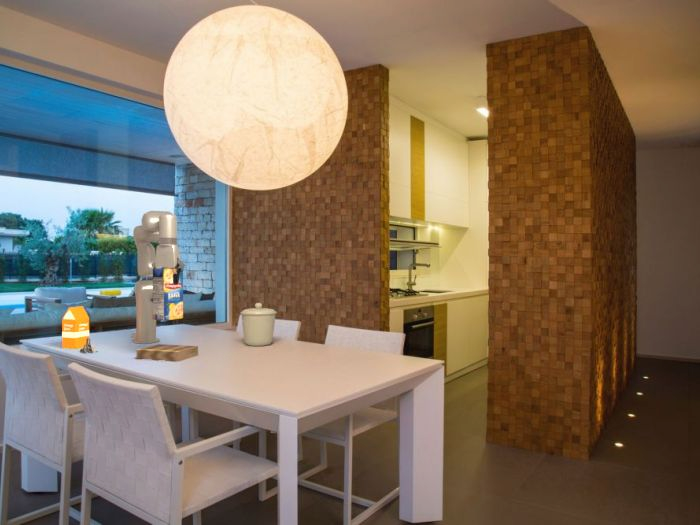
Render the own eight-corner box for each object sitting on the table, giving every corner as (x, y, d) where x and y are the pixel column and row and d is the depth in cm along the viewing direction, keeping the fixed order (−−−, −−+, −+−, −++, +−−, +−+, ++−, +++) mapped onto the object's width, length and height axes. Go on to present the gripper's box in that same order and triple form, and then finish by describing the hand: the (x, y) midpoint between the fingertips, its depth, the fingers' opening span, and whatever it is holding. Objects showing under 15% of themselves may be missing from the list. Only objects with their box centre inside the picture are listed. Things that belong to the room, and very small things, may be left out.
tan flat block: (136, 359, 233) (136, 349, 233) (159, 353, 249) (159, 343, 249) (177, 361, 228) (177, 351, 228) (198, 355, 243) (198, 345, 243)
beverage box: (152, 319, 235) (152, 268, 235) (172, 317, 245) (172, 268, 244) (163, 320, 232) (163, 268, 232) (183, 318, 241) (183, 268, 241)
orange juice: (61, 349, 257) (61, 307, 257) (76, 347, 265) (76, 305, 265) (75, 350, 254) (75, 307, 254) (89, 347, 263) (89, 306, 263)
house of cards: (67, 356, 243) (67, 338, 243) (82, 352, 251) (82, 336, 251) (84, 357, 240) (84, 339, 240) (98, 353, 249) (98, 336, 249)
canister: (280, 342, 282) (280, 301, 281) (271, 348, 264) (271, 304, 263) (246, 341, 283) (246, 301, 283) (235, 347, 265) (235, 304, 265)
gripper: (145, 242, 237) (145, 283, 237) (180, 242, 232) (180, 283, 232) (156, 242, 244) (156, 282, 244) (190, 242, 239) (190, 283, 239)
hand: (168, 282), depth 238 cm, fingers closed on beverage box, 7 cm apart
